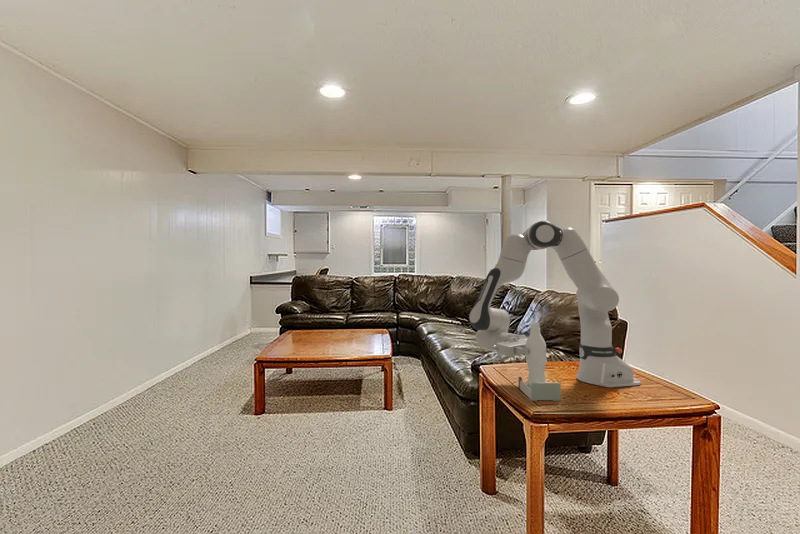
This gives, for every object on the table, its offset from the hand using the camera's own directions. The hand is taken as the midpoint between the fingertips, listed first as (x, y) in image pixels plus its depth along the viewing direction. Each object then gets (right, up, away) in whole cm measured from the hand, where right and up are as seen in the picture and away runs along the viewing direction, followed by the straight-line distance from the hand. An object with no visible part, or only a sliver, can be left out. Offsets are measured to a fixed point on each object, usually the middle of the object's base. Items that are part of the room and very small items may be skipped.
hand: (536, 350), depth 136 cm
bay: (0, -15, -3) cm, 15 cm away
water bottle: (0, -15, 0) cm, 15 cm away
